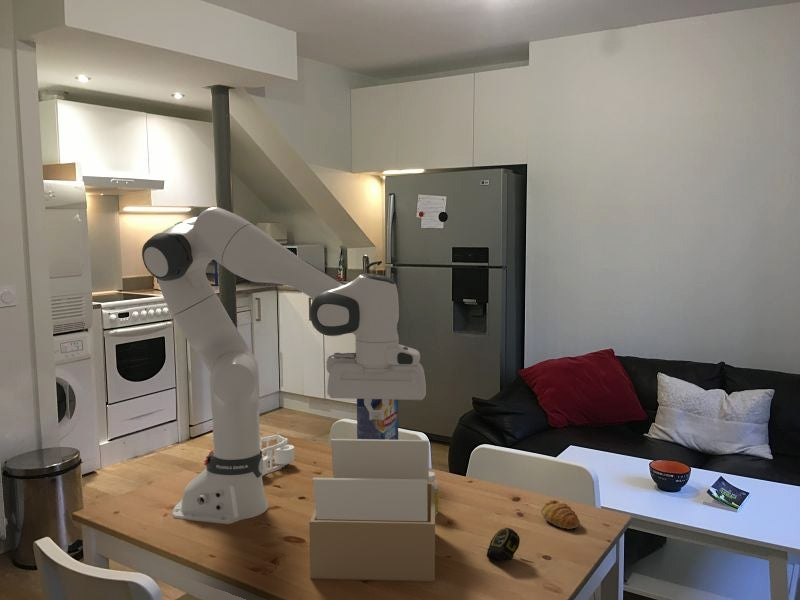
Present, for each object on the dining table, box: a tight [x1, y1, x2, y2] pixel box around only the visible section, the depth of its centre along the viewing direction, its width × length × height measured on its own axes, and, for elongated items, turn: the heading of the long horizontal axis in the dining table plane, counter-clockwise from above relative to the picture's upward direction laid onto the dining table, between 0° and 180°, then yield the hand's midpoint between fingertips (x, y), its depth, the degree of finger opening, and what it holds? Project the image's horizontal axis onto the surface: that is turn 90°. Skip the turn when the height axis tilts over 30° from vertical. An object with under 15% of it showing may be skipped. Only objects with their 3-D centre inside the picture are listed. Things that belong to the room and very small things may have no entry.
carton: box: [308, 482, 436, 583], centre depth 142 cm, size 24×22×12 cm
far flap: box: [330, 438, 430, 481], centre depth 150 cm, size 21×10×1 cm
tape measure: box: [486, 527, 521, 562], centre depth 139 cm, size 7×7×4 cm
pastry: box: [540, 499, 581, 530], centre depth 158 cm, size 9×7×4 cm
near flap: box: [312, 477, 428, 521], centre depth 128 cm, size 21×10×1 cm
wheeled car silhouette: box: [260, 434, 295, 477], centre depth 195 cm, size 20×11×7 cm, turn 148°
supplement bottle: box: [427, 470, 439, 516], centre depth 164 cm, size 5×5×10 cm
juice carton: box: [356, 399, 399, 440], centre depth 191 cm, size 12×8×24 cm, turn 159°
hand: (376, 419), depth 141 cm, fingers closed
